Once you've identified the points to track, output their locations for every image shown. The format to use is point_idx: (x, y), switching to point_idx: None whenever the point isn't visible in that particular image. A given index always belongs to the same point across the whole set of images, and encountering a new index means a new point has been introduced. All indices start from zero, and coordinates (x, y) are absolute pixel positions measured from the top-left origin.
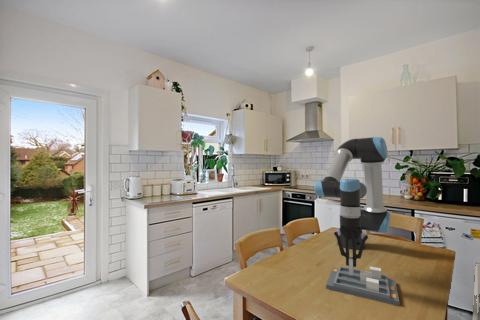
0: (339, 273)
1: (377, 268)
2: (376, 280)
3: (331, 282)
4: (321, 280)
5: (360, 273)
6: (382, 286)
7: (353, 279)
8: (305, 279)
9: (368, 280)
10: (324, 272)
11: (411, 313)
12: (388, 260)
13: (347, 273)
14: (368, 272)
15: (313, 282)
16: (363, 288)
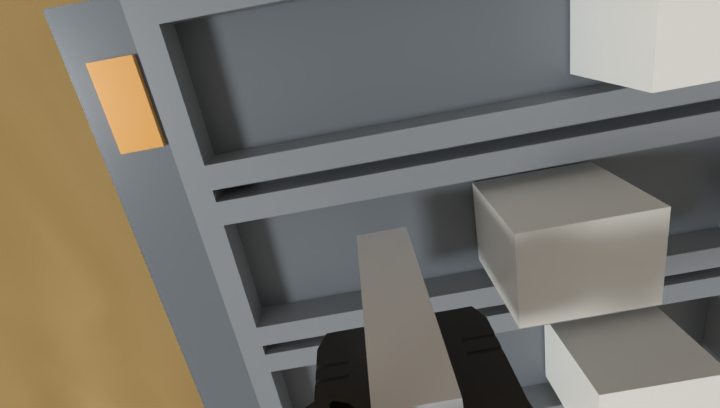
0: (230, 220)
1: None
2: (704, 397)
3: (241, 399)
4: (120, 322)
5: (522, 325)
6: (706, 265)
7: (398, 212)
8: (5, 390)
9: None
10: (23, 126)
11: None
12: None
13: (318, 188)
14: (626, 240)
15: (92, 393)
16: (516, 332)
